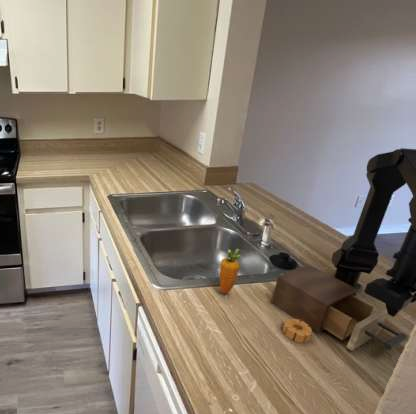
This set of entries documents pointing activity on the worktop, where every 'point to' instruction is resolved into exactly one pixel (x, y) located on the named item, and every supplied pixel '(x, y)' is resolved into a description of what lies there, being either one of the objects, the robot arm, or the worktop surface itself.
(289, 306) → the cabinet
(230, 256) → the carrot
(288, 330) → the wooden gear wheel
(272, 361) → the worktop surface
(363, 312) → the drawer
